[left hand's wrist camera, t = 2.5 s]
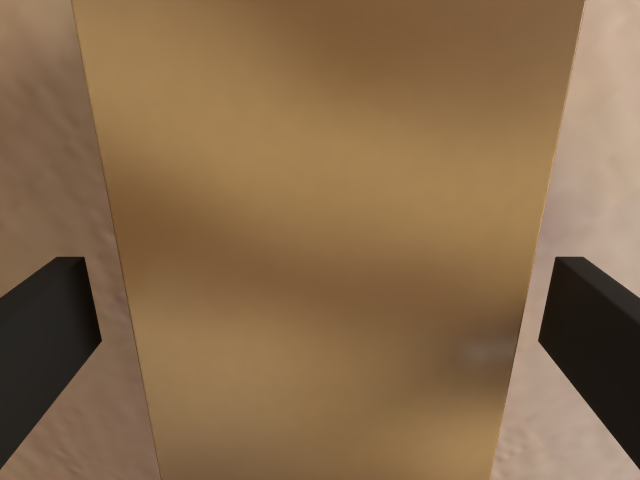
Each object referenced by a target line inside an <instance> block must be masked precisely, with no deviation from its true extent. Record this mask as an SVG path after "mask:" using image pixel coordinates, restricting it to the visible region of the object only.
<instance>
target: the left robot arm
mask: <svg viewBox="0 0 640 480" xmlns="http://www.w3.org/2000/svg"><path fill="white" fill-rule="evenodd" d="M101 341H102V339H101V334H100V329H99V324H98V320H97V315H96V310H95V305H94V301H93V296H92V291H91V286H90V281H89V277H88V272H87V267H86V262H85V258H84V257H56V258H55V259H53V260H52V261H50V262H49V263H48V264H46V265H45V266H44V267H42V268H41V269H39V270H38V271H37V272H35V273H34V274H33V275H31V276H30V277H29V278H27V279H26V280H24V281H23V282H22V283H20V284H19V285H18V286H16V287H15V288H13V289H12V290H11V291H9V292H8V293H7V294H5V295H4V296H3V297H1V298H0V469H1V468H2V467H3V466H4V464H5V463H6V462H7V461H8V459H9V458H10V457H11V455H12V454H13V453H14V452H15V450H16V449H17V448H18V447H19V445H20V444H21V443H22V442H23V440H24V439H25V438H26V436H27V435H28V434H29V433H30V431H31V430H32V429H33V428H34V426H35V425H36V424H37V423H38V421H39V420H40V419H41V417H42V416H43V415H44V414H45V412H46V411H47V410H48V409H49V407H50V406H51V405H52V404H53V402H54V401H55V400H56V398H57V397H58V396H59V395H60V393H61V392H62V391H63V390H64V388H65V387H66V386H67V385H68V383H69V382H70V381H71V379H72V378H73V377H74V376H75V374H76V373H77V372H78V371H79V369H80V368H81V367H82V365H83V364H84V363H85V362H86V360H87V359H88V358H89V357H90V355H91V354H92V353H93V352H94V350H95V349H96V348H97V346H98V345H99V344H100V343H101ZM538 341H539V343H540V344H541V345H542V346H543V348H544V349H545V350H546V352H547V353H548V354H549V355H550V357H551V358H552V359H553V360H554V362H555V363H556V364H557V366H558V367H559V368H560V369H561V371H562V372H563V373H564V374H565V376H566V377H567V378H568V379H569V381H570V382H571V383H572V385H573V386H574V387H575V388H576V390H577V391H578V392H579V393H580V395H581V396H582V397H583V398H584V400H585V401H586V402H587V404H588V405H589V406H590V407H591V409H592V410H593V411H594V412H595V414H596V415H597V416H598V417H599V419H600V420H601V421H602V423H603V424H604V425H605V426H606V428H607V429H608V430H609V431H610V433H611V434H612V435H613V436H614V438H615V439H616V440H617V442H618V443H619V444H620V445H621V447H622V448H623V449H624V450H625V452H626V453H627V454H628V455H629V457H630V458H631V459H632V461H633V462H634V463H635V464H636V466H637V467H638V468H639V469H640V298H639V297H637V296H636V295H635V294H633V293H632V292H631V291H629V290H628V289H627V288H625V287H624V286H622V285H621V284H620V283H618V282H617V281H616V280H614V279H613V278H611V277H610V276H609V275H607V274H606V273H605V272H603V271H602V270H601V269H599V268H598V267H596V266H595V265H594V264H592V263H591V262H590V261H588V260H587V259H585V258H584V257H556V258H555V262H554V267H553V272H552V277H551V281H550V286H549V291H548V296H547V301H546V305H545V310H544V315H543V320H542V324H541V329H540V334H539V339H538Z"/></svg>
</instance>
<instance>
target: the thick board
mask: <svg viewBox="0 0 640 480" xmlns="http://www.w3.org/2000/svg"><path fill="white" fill-rule="evenodd" d="M71 4H72V9H73V14H74V20H75V25H76V30H77V36H78V41H79V46H80V51H81V57H82V62H83V67H84V73H85V78H86V83H87V89H88V94H89V99H90V105H91V110H92V115H93V121H94V126H95V131H96V136H97V142H98V147H99V152H100V158H101V163H102V168H103V174H104V179H105V184H106V190H107V195H108V200H109V206H110V211H111V216H112V221H113V227H114V232H115V237H116V243H117V248H118V253H119V259H120V264H121V269H122V275H123V280H124V285H125V291H126V296H127V301H128V306H129V312H130V317H131V322H132V328H133V333H134V338H135V344H136V349H137V354H138V360H139V365H140V370H141V376H142V381H143V386H144V391H145V397H146V402H147V407H148V413H149V418H150V423H151V429H152V434H153V439H154V445H155V450H156V455H157V461H158V466H159V471H160V476H161V480H490V477H491V472H492V467H493V462H494V457H495V452H496V447H497V442H498V437H499V432H500V427H501V422H502V417H503V412H504V407H505V402H506V397H507V392H508V387H509V382H510V377H511V372H512V367H513V362H514V357H515V352H516V347H517V342H518V337H519V332H520V327H521V322H522V317H523V312H524V307H525V302H526V297H527V292H528V288H529V283H530V278H531V273H532V268H533V263H534V258H535V253H536V248H537V243H538V238H539V233H540V228H541V223H542V218H543V213H544V208H545V203H546V198H547V193H548V188H549V183H550V178H551V173H552V168H553V163H554V158H555V153H556V148H557V143H558V138H559V133H560V128H561V123H562V118H563V113H564V108H565V103H566V99H567V94H568V89H569V84H570V79H571V74H572V69H573V64H574V59H575V54H576V49H577V44H578V39H579V34H580V29H581V24H582V19H583V14H584V9H585V4H586V0H71Z"/></svg>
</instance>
